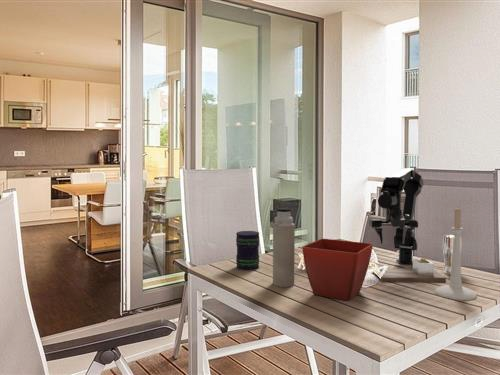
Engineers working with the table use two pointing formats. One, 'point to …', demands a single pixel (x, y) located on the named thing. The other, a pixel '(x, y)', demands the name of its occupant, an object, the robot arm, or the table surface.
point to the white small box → (423, 267)
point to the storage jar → (247, 250)
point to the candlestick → (456, 268)
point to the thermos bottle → (283, 249)
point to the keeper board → (410, 276)
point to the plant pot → (336, 267)
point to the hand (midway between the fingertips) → (392, 244)
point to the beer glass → (449, 252)
